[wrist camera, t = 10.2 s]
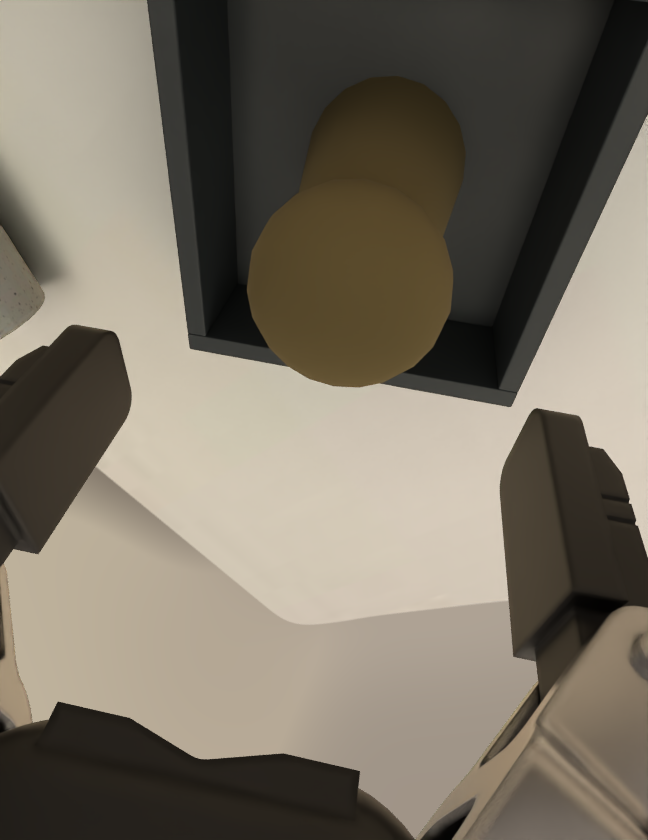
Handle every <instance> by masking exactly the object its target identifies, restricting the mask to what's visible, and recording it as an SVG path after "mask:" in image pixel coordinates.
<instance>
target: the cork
mask: <svg viewBox="0 0 648 840" xmlns="http://www.w3.org/2000/svg"><path fill="white" fill-rule="evenodd" d="M465 156H466V151H465V147H464V142H463V137H462V133H461V128H460V125H459V123H458V121H457V120H456V118H455V117H454V115H453V113H452V112H451V110H450V108H449V107H448V105H447V103H446V102H445V101H444V100H443V99H442V98H440V97H439V96H438V95H437V94H435V93H434V92H433V91H432V90H430V89H429V88H428V87H427V86H425V85H424V84H422V83H418V82H415V81H412V80H409V79H406V78H403V77H400V76H388V77H372V78H368V79H366V80H364V81H362V82H359V83H357V84H355V85H353V86H350V87H348V88H346V89H344V90H343V91H342V92H341V93H340V94H339V95H338V96H337V97H336V98H335V99H334V100H333V101H332V102H331V103H330V104H329V105H328V106H327V107H326V108H325V109H324V111H323V113H322V115H321V117H320V118H319V120H318V122H317V124H316V126H315V128H314V130H313V132H312V135H311V140H310V144H309V149H308V153H307V157H306V162H305V166H304V171H303V175H302V179H301V184H300V188H299V193H297V194H296V195H295V196H293V197H292V198H291V199H290V200H289V201H288V202H286V203H285V204H284V205H283V206H282V207H281V208H280V209H278V210H277V211H276V212H275V213H274V214H273V215H272V216H271V218H270V219H269V221H268V222H267V224H266V225H265V227H264V229H263V231H262V233H261V235H260V237H259V238H258V240H257V242H256V244H255V246H254V248H253V249H252V253H251V261H250V268H249V275H248V284H247V294H248V299H249V304H250V309H251V313H252V318H253V320H254V321H255V323H256V325H257V327H258V329H259V330H260V332H261V334H262V336H263V338H264V339H265V341H266V343H267V345H268V346H269V348H270V349H271V350H272V351H273V352H274V353H275V354H276V355H277V356H278V357H279V358H280V359H281V360H282V361H283V362H284V363H285V364H286V365H287V366H288V367H290V368H292V369H293V370H295V371H297V372H299V373H300V374H302V375H304V376H305V377H307V378H309V379H312V380H315V381H318V382H322V383H325V384H328V385H332V386H342V387H363V386H368V385H373V384H378V383H383V382H385V381H387V380H389V379H391V378H393V377H395V376H397V375H399V374H401V373H403V372H404V371H406V370H408V369H410V368H412V367H414V366H415V365H416V364H417V363H418V362H419V361H420V360H421V359H422V358H423V357H424V356H425V355H426V354H427V353H428V352H429V351H430V350H431V349H432V348H433V346H434V344H435V342H436V340H437V338H438V336H439V334H440V332H441V330H442V328H443V326H444V324H445V322H446V320H447V318H448V315H449V313H450V311H451V300H452V290H453V268H452V265H451V261H450V257H449V254H448V250H447V246H446V242H445V239H444V238H443V235H444V232H445V229H446V227H447V224H448V221H449V218H450V215H451V213H452V210H453V207H454V204H455V201H456V198H457V196H458V193H459V190H460V187H461V184H462V182H463V177H464V166H465Z"/></svg>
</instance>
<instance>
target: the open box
mask: <svg viewBox="0 0 648 840" xmlns="http://www.w3.org/2000/svg"><path fill="white" fill-rule="evenodd" d="M147 4H148V12H149V20H150V28H151V36H152V44H153V52H154V61H155V69H156V77H157V85H158V93H159V101H160V109H161V117H162V126H163V134H164V142H165V150H166V158H167V166H168V174H169V183H170V191H171V199H172V207H173V215H174V223H175V231H176V239H177V248H178V256H179V264H180V272H181V280H182V288H183V296H184V304H185V313H186V321H187V329H188V338H189V346H190V349H194V350H199V351H205V352H210V353H216V354H221V355H227V356H232V357H238V358H243V359H249V360H254V361H260V362H265V363H271V364H276V365H282V366H287V365H286V364H285V363H284V362H283V361H282V360H281V359H280V358H279V357H278V356H277V355H276V354H275V353H274V352H273V351H272V350H271V349H270V348H269V346H268V345H267V343H266V341H265V339H264V338H263V336H262V334H261V332H260V330H259V329H258V327H257V325H256V323H255V321H254V320H253V318H252V313H251V309H250V304H249V299H248V294H247V284H248V275H249V268H250V261H251V253H252V249H253V248H254V246H255V244H256V242H257V240H258V238H259V237H260V235H261V233H262V231H263V229H264V227H265V225H266V224H267V222H268V221H269V219H270V218H271V216H272V215H273V214H274V213H275V212H276V211H277V210H278V209H280V208H281V207H282V206H283V205H284V204H285V203H286V202H288V201H289V200H290V199H291V198H292V197H293V196H295V195H296V194H297V193H299V188H300V184H301V179H302V175H303V171H304V166H305V162H306V157H307V153H308V149H309V144H310V140H311V135H312V132H313V130H314V128H315V126H316V124H317V122H318V120H319V118H320V117H321V115H322V113H323V111H324V109H325V108H326V107H327V106H328V105H329V104H330V103H331V102H332V101H333V100H334V99H335V98H336V97H337V96H338V95H339V94H340V93H341V92H342V91H343V90H344V89H346V88H348V87H350V86H353V85H355V84H357V83H359V82H362V81H364V80H366V79H368V78H372V77H388V76H400V77H403V78H406V79H409V80H412V81H415V82H418V83H422V84H424V85H425V86H427V87H428V88H429V89H430V90H432V91H433V92H434V93H435V94H437V95H438V96H439V97H440V98H442V99H443V100H444V101H445V102H446V103H447V105H448V107H449V108H450V110H451V112H452V113H453V115H454V117H455V118H456V120H457V121H458V123H459V125H460V128H461V133H462V137H463V142H464V147H465V151H466V156H465V166H464V177H463V182H462V184H461V187H460V190H459V193H458V196H457V198H456V201H455V204H454V207H453V210H452V213H451V215H450V218H449V221H448V224H447V227H446V229H445V232H444V235H443V238H444V239H445V242H446V246H447V250H448V254H449V257H450V261H451V265H452V268H453V290H452V300H451V311H450V313H449V315H448V318H447V320H446V322H445V324H444V326H443V328H442V330H441V332H440V334H439V336H438V338H437V340H436V342H435V344H434V346H433V348H432V349H431V350H430V351H429V352H428V353H427V354H426V355H425V356H424V357H423V358H422V359H421V360H420V361H419V362H418V363H417V364H416V365H415V366H414V367H412V368H410V369H408V370H406V371H404V372H403V373H401V374H399V375H397V376H395V377H393V378H391V379H389V380H387V381H385V382H383V383H381V384H386V385H392V386H397V387H402V388H408V389H413V390H419V391H424V392H430V393H435V394H441V395H446V396H452V397H457V398H463V399H468V400H474V401H479V402H485V403H490V404H496V405H501V406H507V407H511V406H512V404H513V402H514V400H515V397H516V395H517V392H518V391H519V389H520V387H521V384H522V382H523V380H524V378H525V376H526V374H527V372H528V369H529V367H530V365H531V363H532V361H533V359H534V357H535V354H536V352H537V350H538V348H539V346H540V344H541V342H542V339H543V337H544V335H545V333H546V331H547V329H548V327H549V324H550V322H551V320H552V318H553V316H554V314H555V312H556V309H557V307H558V305H559V303H560V301H561V299H562V297H563V294H564V292H565V290H566V288H567V286H568V284H569V282H570V279H571V277H572V275H573V273H574V271H575V269H576V267H577V264H578V262H579V260H580V258H581V256H582V254H583V252H584V249H585V247H586V245H587V243H588V241H589V239H590V237H591V234H592V232H593V230H594V228H595V226H596V224H597V222H598V219H599V217H600V215H601V213H602V211H603V209H604V207H605V204H606V202H607V200H608V198H609V196H610V194H611V192H612V189H613V187H614V185H615V183H616V181H617V179H618V176H619V174H620V172H621V170H622V168H623V166H624V164H625V161H626V159H627V157H628V155H629V153H630V151H631V149H632V146H633V144H634V142H635V140H636V138H637V136H638V134H639V131H640V129H641V127H642V125H643V123H644V121H645V119H646V116H647V114H648V0H147ZM287 367H288V366H287Z"/></svg>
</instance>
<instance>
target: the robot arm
mask: <svg viewBox="0 0 648 840" xmlns="http://www.w3.org/2000/svg"><path fill="white" fill-rule="evenodd" d="M131 397H132V395H131V388H130V383H129V379H128V375H127V371H126V367H125V363H124V359H123V355H122V351H121V347H120V343H119V339H118V337H117V335H116V334H115V333H114V332H112V331H108V330H103V329H97V328H91V327H86V326H80V325H71V326H69V327H67V328H66V329H65V330H64V331H63V332H62V333H61V335H60V336H59V337H58V338H57V339H56V340H55V341H54V342H53V343H52V344H51V345H50V346H49V347H48V346H41V347H39V348H38V349H36V350H34V351H32V352H30V353H28V354H27V355H25V356H23V357H21V358H19V359H18V360H16V361H15V362H14V363H13V364H12V365H11V366H10V367H9V368H8V369H7V370H6V371H5V372H4V373H3V374H2V375H1V376H0V840H648V557H647V554H646V551H645V548H644V544H643V541H642V538H641V535H640V531H639V528H638V526H636V525H635V522H636V518H635V515H634V512H633V508H632V505H631V504H629V495H628V492H627V489H626V485H625V482H624V479H623V476H622V473H621V472H620V470H619V469H618V468H617V466H616V465H615V464H614V463H613V461H612V460H611V459H610V457H609V456H608V455H607V453H606V452H605V451H604V450H603V449H600V448H594V447H589V446H588V442H587V438H586V434H585V430H584V426H583V423H582V420H581V418H580V417H579V416H577V415H571V414H566V413H560V412H554V411H549V410H543V409H538V408H536V409H534V410H533V411H532V412H531V413H530V415H529V417H528V418H527V420H526V422H525V424H524V426H523V428H522V430H521V432H520V434H519V436H518V438H517V440H516V442H515V444H514V446H513V448H512V450H511V452H510V454H509V456H508V457H507V459H506V462H505V464H504V467H503V470H502V475H501V481H500V501H501V513H502V525H503V537H504V549H505V561H506V573H507V585H508V597H509V609H510V621H511V633H512V645H513V656H514V657H517V658H522V659H527V660H531V661H536V665H537V674H538V681H537V682H536V683H535V684H534V685H533V687H532V688H531V689H530V691H529V692H528V693H527V695H526V696H525V697H524V699H523V700H522V702H521V703H520V704H519V706H518V707H517V708H516V710H515V711H514V713H513V714H512V715H511V716H510V718H509V719H508V721H507V722H506V723H505V725H504V726H503V727H502V729H501V730H500V732H499V733H498V734H497V735H496V737H495V738H494V740H493V741H492V742H491V743H490V745H489V746H488V748H487V749H486V750H485V752H484V753H483V754H482V756H481V757H480V758H479V760H478V761H477V763H476V764H475V765H474V766H473V768H472V769H471V770H470V772H469V773H468V774H467V775H466V776H465V777H464V779H463V780H462V781H461V782H460V783H459V784H458V785H457V786H456V787H455V789H454V790H453V791H452V792H451V793H450V794H449V796H448V797H447V798H446V799H445V801H444V802H443V803H442V804H441V806H440V807H439V808H438V809H437V811H436V812H435V813H434V815H433V816H432V817H431V819H430V820H429V822H428V823H427V824H426V825H425V827H424V828H423V829H422V831H421V832H420V834H419V835H418V836H417V838H416V839H414V838H413V836H412V835H411V834H410V833H409V831H408V830H407V829H406V828H405V826H404V825H403V824H402V823H401V822H400V821H399V820H398V819H397V818H396V817H395V816H394V815H393V814H392V813H391V812H390V811H389V810H388V809H387V808H386V807H385V806H383V805H382V804H381V803H380V802H378V801H377V800H376V799H375V798H373V797H372V796H371V795H369V794H367V793H366V792H364V791H362V790H361V789H359V788H358V784H359V775H360V771H357V770H352V769H348V768H344V767H339V766H335V765H331V764H327V763H322V762H318V761H313V760H309V759H305V758H301V757H296V756H292V755H288V754H272V755H259V756H246V757H234V758H221V759H209V760H207V759H205V760H204V759H198V758H195V757H193V756H191V755H189V754H187V753H186V752H184V751H183V750H181V749H179V748H178V747H176V746H174V745H173V744H171V743H169V742H168V741H166V740H165V739H163V738H161V737H160V736H158V735H157V734H155V733H153V732H152V731H150V730H148V729H147V728H145V727H143V726H142V725H140V724H139V723H137V722H135V721H134V720H132V719H130V718H127V717H123V716H118V715H114V714H110V713H105V712H101V711H96V710H92V709H88V708H83V707H79V706H75V705H70V704H66V703H61V702H58V703H57V704H56V706H55V708H54V711H53V712H52V715H51V716H50V718H49V720H44V721H39V722H35V723H33V721H32V714H31V708H30V704H29V700H28V696H27V694H26V690H25V688H24V685H23V683H22V681H21V679H20V676H19V673H18V669H17V664H16V657H15V648H14V638H13V629H12V618H11V608H10V600H9V599H10V598H9V588H8V578H7V571H6V568H5V566H4V564H3V563H4V562H5V560H6V559H7V557H8V556H9V554H10V553H11V552H12V550H13V549H16V550H21V551H26V552H30V553H35V554H39V552H40V551H41V549H42V548H43V546H44V545H45V543H46V542H47V540H48V539H49V537H50V535H51V534H52V532H53V531H54V529H55V528H56V526H57V525H58V523H59V522H60V520H61V519H62V517H63V516H64V514H65V512H66V511H67V509H68V508H69V506H70V505H71V503H72V502H73V500H74V498H75V497H76V496H77V494H78V492H79V491H80V489H81V488H82V486H83V485H84V483H85V482H86V480H87V479H88V477H89V475H90V474H91V472H92V471H93V469H94V468H95V466H96V465H97V463H98V462H99V460H100V459H101V457H102V455H103V454H104V452H105V451H106V449H107V448H108V446H109V445H110V443H111V442H112V440H113V439H114V437H115V435H116V434H117V432H118V431H119V429H120V428H121V426H122V425H123V423H124V422H125V420H126V418H127V416H128V413H129V410H130V406H131Z"/></svg>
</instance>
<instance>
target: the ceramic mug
mask: <svg viewBox="0 0 648 840" xmlns="http://www.w3.org/2000/svg"><path fill="white" fill-rule="evenodd" d="M44 299H45V296H44V292H43V290H42V288H41V286H40V285H39V283H38V282H37V280H36V279H35V277H34V276H33V274H32V273H31V271H30V270H29V268H28V267H27V265H26V264H25V262H24V260H23V259H22V257H21V256H20V254H19V252H18V251H17V249H16V248H15V246H14V245H13V243H12V241H11V240H10V238H9V237H8V235H7V233H6V232H5V231H4V229H3V228H2V226H1V225H0V339H2V338H3V337H5V336H6V335H8V334H10V333H11V332H13V331H14V330H16V329H17V328H18V327H20V326H21V325H22V324H23V323H25V322H26V321H28V320H29V319H30V318H31V317H32V316H33V315H34V314H35V313H36V312H37V311H38V310H39V309H40V307H41V306H42V304H43V302H44Z"/></svg>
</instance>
